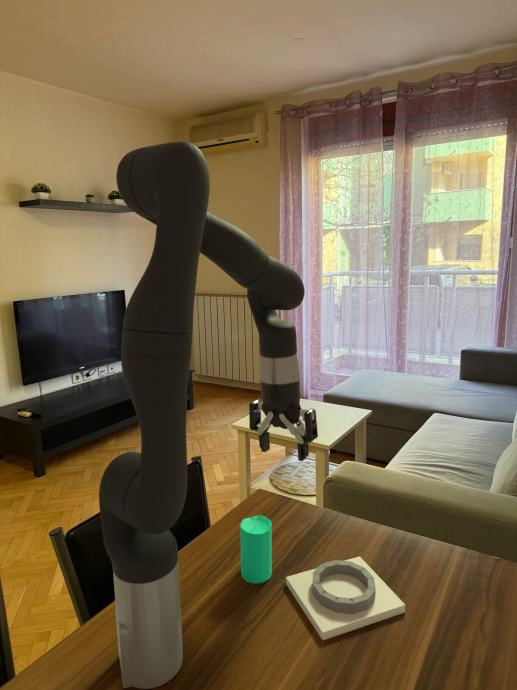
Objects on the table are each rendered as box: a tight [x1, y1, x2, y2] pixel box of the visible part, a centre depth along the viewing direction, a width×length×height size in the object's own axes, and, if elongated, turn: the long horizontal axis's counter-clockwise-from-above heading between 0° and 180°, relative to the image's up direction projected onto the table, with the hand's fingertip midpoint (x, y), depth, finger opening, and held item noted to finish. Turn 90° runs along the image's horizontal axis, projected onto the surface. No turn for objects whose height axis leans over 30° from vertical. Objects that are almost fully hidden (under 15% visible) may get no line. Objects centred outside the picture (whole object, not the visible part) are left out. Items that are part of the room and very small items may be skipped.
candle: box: [239, 514, 273, 584], centre depth 91 cm, size 6×6×12 cm
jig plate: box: [285, 555, 406, 641], centre depth 85 cm, size 16×14×4 cm
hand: (283, 455), depth 95 cm, fingers open, 8 cm apart
